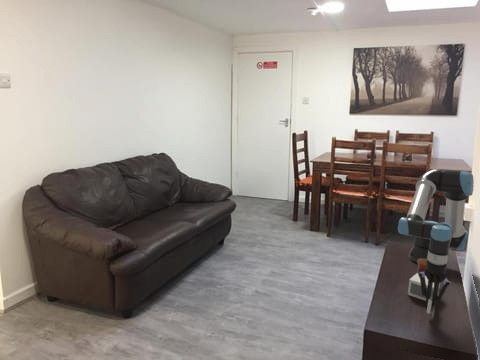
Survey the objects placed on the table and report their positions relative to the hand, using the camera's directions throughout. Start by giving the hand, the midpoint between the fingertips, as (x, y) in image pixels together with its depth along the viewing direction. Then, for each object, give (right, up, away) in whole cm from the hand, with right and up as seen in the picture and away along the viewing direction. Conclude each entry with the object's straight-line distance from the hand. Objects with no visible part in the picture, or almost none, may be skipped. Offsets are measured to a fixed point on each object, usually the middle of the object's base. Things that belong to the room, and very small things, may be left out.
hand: (429, 312), depth 172 cm
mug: (+14, +4, +35) cm, 38 cm away
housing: (+7, +2, +20) cm, 21 cm away
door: (+4, -1, +5) cm, 6 cm away
